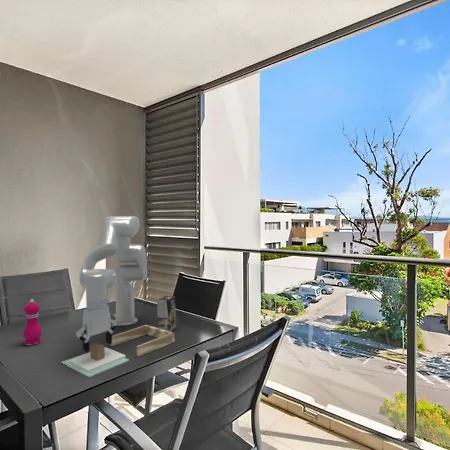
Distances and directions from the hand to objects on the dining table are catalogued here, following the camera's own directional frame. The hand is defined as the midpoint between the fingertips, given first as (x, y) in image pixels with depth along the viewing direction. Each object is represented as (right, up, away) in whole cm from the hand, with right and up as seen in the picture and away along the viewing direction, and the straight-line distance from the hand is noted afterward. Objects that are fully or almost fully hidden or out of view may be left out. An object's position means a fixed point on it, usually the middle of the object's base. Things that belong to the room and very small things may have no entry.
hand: (97, 347), depth 132 cm
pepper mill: (-37, -5, +19) cm, 42 cm away
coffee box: (+21, -4, +35) cm, 41 cm away
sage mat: (-1, -5, -1) cm, 5 cm away
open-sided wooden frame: (+13, -5, +17) cm, 22 cm away
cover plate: (0, -5, 0) cm, 5 cm away
